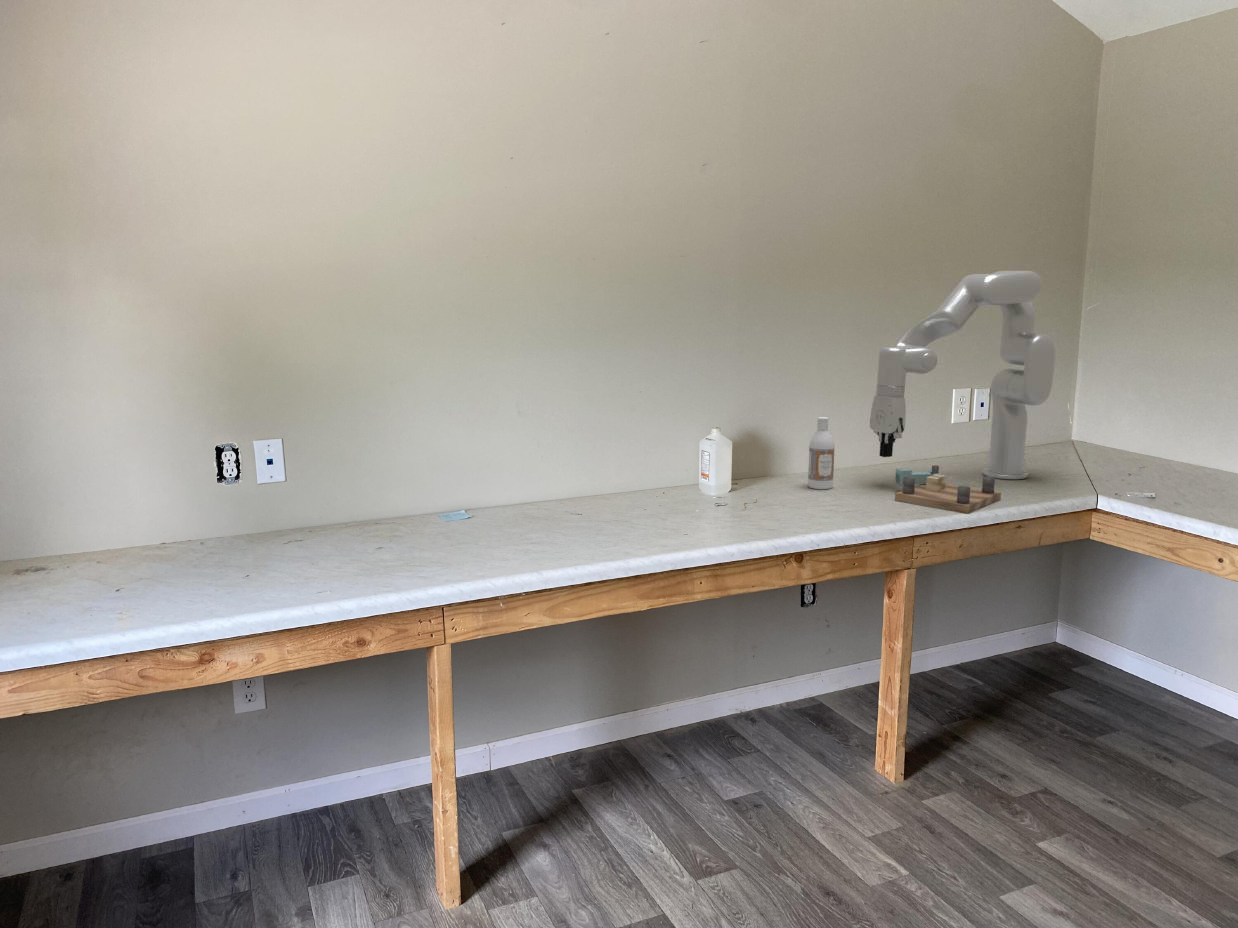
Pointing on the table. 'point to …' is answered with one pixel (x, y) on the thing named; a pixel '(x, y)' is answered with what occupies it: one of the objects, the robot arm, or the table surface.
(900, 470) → the leg
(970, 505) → the stool seat
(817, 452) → the bath foam
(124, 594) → the table surface
